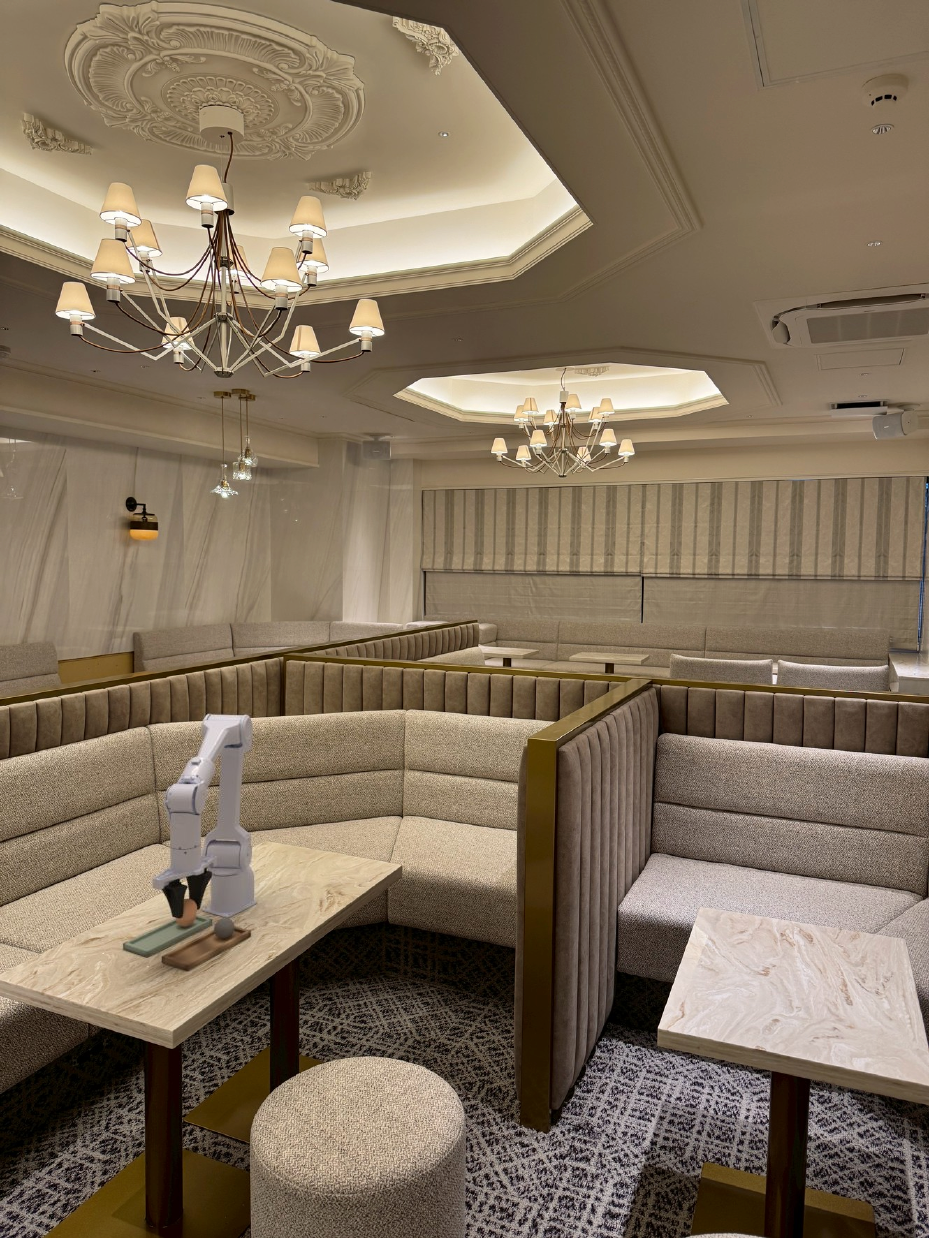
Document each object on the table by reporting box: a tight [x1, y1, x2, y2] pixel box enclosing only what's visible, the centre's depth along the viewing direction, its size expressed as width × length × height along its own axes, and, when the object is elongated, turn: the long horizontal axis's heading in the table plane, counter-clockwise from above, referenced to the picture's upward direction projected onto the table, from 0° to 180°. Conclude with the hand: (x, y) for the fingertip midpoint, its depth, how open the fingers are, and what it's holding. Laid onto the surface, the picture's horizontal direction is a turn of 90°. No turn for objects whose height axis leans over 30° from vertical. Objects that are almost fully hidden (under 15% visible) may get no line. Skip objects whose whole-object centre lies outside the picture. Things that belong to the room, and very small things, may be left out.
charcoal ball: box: [213, 917, 235, 939], centre depth 166 cm, size 4×4×4 cm
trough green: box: [122, 914, 213, 958], centre depth 168 cm, size 17×7×1 cm, turn 152°
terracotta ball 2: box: [175, 913, 197, 927], centre depth 171 cm, size 4×4×4 cm
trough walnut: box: [161, 925, 252, 972], centre depth 162 cm, size 17×7×1 cm, turn 152°
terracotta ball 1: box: [180, 898, 198, 920], centre depth 159 cm, size 4×4×4 cm
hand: (186, 912), depth 159 cm, fingers closed on terracotta ball 1, 4 cm apart
